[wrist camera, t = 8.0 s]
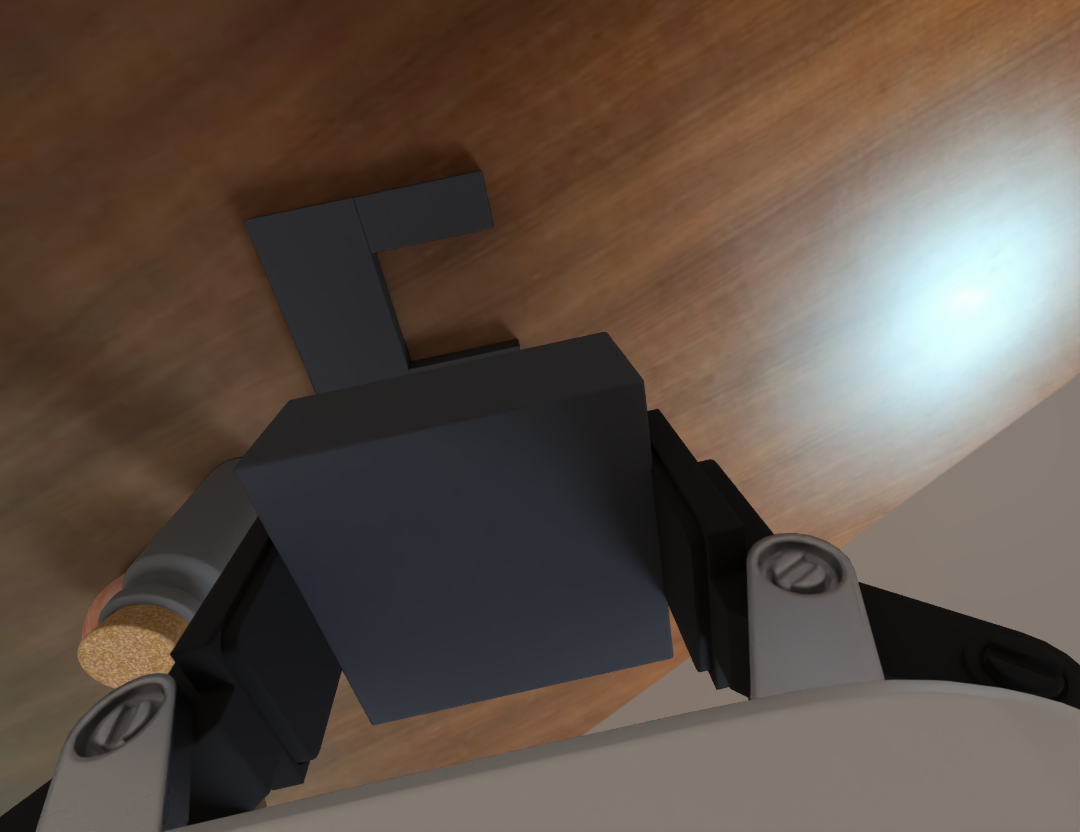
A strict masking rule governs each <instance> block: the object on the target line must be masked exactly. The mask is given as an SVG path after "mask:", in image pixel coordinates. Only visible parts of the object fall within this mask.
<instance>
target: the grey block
mask: <svg viewBox="0 0 1080 832" xmlns="http://www.w3.org/2000/svg"><path fill="white" fill-rule="evenodd" d="M651 469H653V461H652V451H651V442H650V433H649V423H648V414H647V405H646V395H645V386H644V380H643V379H642V377H641V376H640V375H639V373H638V372H637V371H636V370H635V368H634V367H633V366H632V364H631V363H630V362H629V360H628V359H627V358H626V357H625V355H624V354H623V353H622V351H621V350H620V349H619V347H618V346H617V345H616V344H615V342H614V341H613V340H612V338H611V337H610V336H609V334H608V333H607V332H601V333H597V334H592V335H587V336H583V337H578V338H574V339H569V340H564V341H560V342H555V343H551V344H546V345H541V346H537V347H532V348H528V349H523V350H518V351H514V352H509V353H505V354H500V355H496V356H491V357H486V358H482V359H477V360H473V361H468V362H463V363H459V364H454V365H450V366H445V367H440V368H436V369H431V370H427V371H422V372H417V373H413V374H408V375H404V376H399V377H394V378H390V379H385V380H381V381H376V382H371V383H367V384H362V385H358V386H353V387H348V388H344V389H339V390H335V391H330V392H325V393H321V394H316V395H312V396H307V397H302V398H298V399H293V400H290V401H288V402H287V404H286V405H285V406H284V407H283V409H282V410H281V411H280V412H279V413H278V415H277V416H276V417H275V418H274V420H273V421H272V422H271V423H270V424H269V426H268V427H267V428H266V429H265V431H264V432H263V433H262V434H261V435H260V437H259V438H258V439H257V440H256V441H255V443H254V444H253V445H252V446H251V448H250V449H249V450H248V451H247V452H246V454H245V455H244V456H243V457H242V459H241V460H240V461H239V462H238V463H237V465H236V466H235V467H234V472H235V474H236V476H237V478H238V480H239V482H240V483H241V485H242V487H243V489H244V491H245V493H246V494H247V496H248V498H249V500H250V502H251V504H252V505H253V507H254V509H255V511H256V513H257V515H258V516H259V518H260V520H261V522H262V524H263V526H264V527H265V529H266V531H267V533H268V535H269V537H270V539H271V540H272V542H273V544H274V546H275V548H276V550H277V551H278V552H279V554H280V556H281V557H282V559H283V561H284V563H285V565H286V567H287V569H288V570H289V572H290V574H291V576H292V578H293V580H294V581H295V583H296V585H297V587H298V589H299V591H300V592H301V594H302V596H303V598H304V600H305V602H306V603H307V605H308V607H309V609H310V611H311V613H312V614H313V616H314V618H315V620H316V622H317V624H318V625H319V627H320V629H321V631H322V633H323V635H324V636H325V638H326V640H327V642H328V644H329V646H330V648H331V649H332V651H333V653H334V655H335V657H336V659H337V660H338V662H339V664H340V666H341V668H342V671H343V673H344V674H345V676H346V678H347V680H348V682H349V684H350V685H351V687H352V689H353V691H354V693H355V695H356V696H357V698H358V700H359V702H360V704H361V706H362V707H363V709H364V711H365V713H366V715H367V717H368V718H369V720H370V722H371V724H373V725H377V724H382V723H386V722H391V721H395V720H399V719H404V718H408V717H413V716H417V715H422V714H426V713H431V712H435V711H440V710H444V709H448V708H453V707H457V706H462V705H466V704H471V703H475V702H480V701H484V700H489V699H493V698H497V697H502V696H506V695H511V694H515V693H520V692H524V691H529V690H533V689H538V688H542V687H546V686H551V685H555V684H560V683H564V682H569V681H573V680H578V679H582V678H587V677H591V676H595V675H600V674H604V673H609V672H613V671H618V670H622V669H627V668H631V667H636V666H640V665H644V664H649V663H653V662H658V661H662V660H667V659H671V658H672V657H673V647H672V638H671V628H670V619H669V610H668V603H667V600H666V598H665V591H664V582H663V573H662V564H661V555H660V546H659V537H658V527H657V518H656V509H655V500H654V491H653V482H652V473H651Z"/></svg>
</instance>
